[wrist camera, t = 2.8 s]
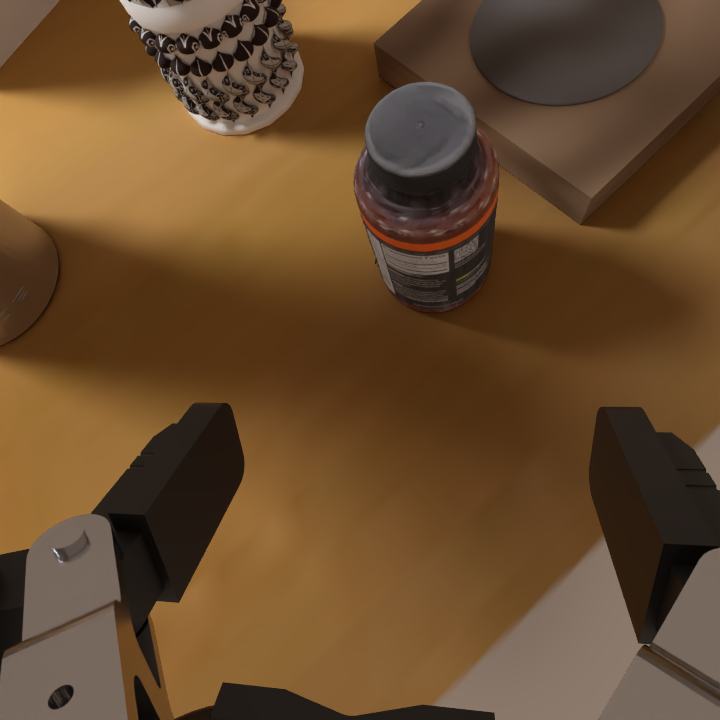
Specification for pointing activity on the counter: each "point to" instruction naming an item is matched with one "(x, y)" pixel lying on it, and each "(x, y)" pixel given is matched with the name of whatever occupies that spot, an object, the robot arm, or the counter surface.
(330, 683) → the counter surface
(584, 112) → the base board
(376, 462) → the counter surface
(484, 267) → the supplement bottle
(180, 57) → the decorative candle
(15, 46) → the pizza boxes
